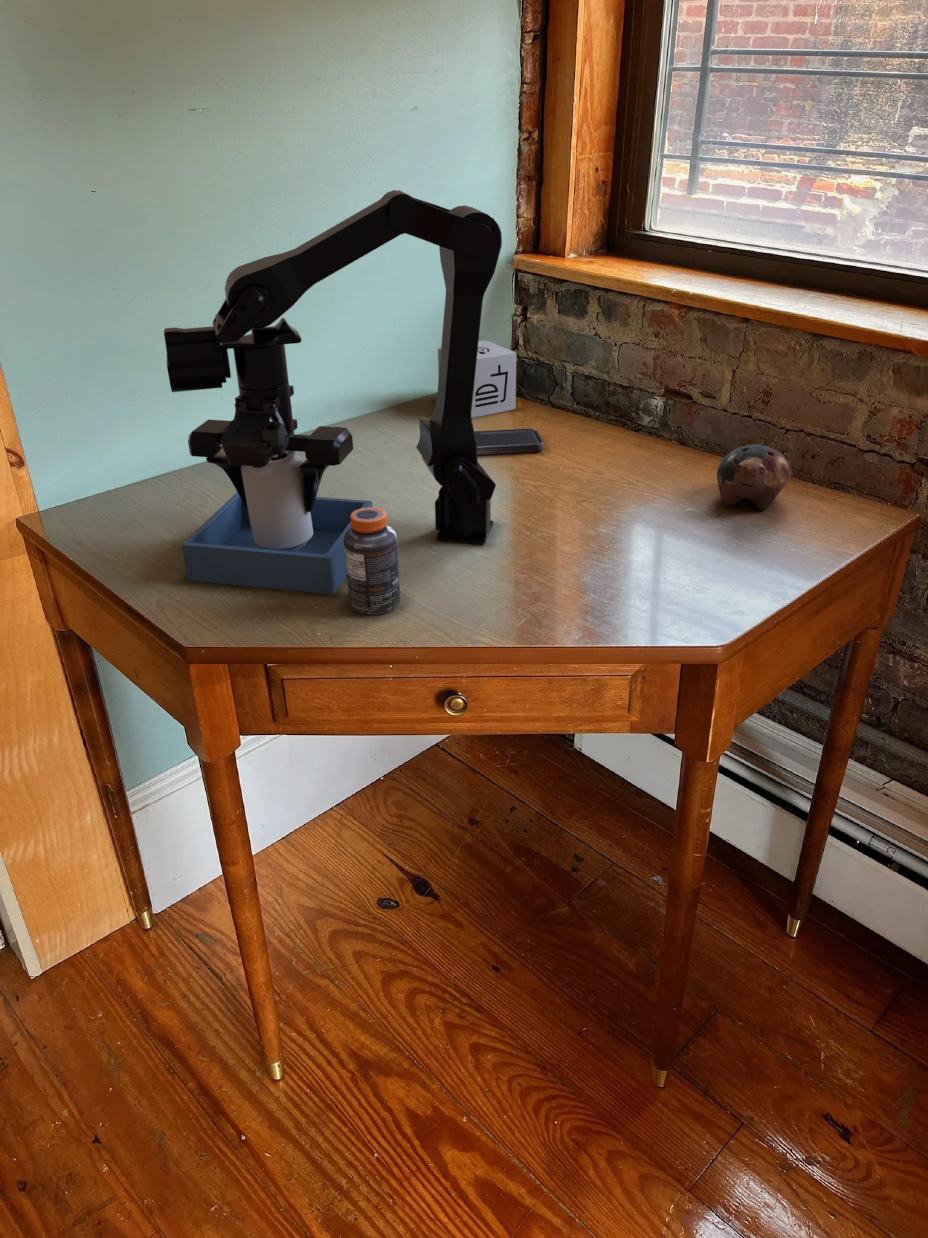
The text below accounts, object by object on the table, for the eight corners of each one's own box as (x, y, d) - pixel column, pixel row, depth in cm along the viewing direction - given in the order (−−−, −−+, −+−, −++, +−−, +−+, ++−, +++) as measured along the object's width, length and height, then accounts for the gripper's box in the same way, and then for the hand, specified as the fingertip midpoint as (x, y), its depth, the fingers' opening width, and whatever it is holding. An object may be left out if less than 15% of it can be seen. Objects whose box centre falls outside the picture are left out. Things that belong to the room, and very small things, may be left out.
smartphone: (544, 444, 151) (449, 449, 149) (544, 451, 151) (449, 456, 150) (535, 427, 158) (444, 432, 156) (535, 434, 158) (444, 438, 157)
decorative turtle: (711, 518, 129) (715, 461, 126) (718, 484, 142) (722, 430, 139) (786, 523, 126) (793, 464, 123) (787, 487, 139) (793, 433, 136)
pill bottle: (401, 590, 113) (396, 501, 107) (400, 615, 108) (395, 523, 102) (350, 591, 113) (343, 502, 107) (347, 616, 108) (339, 525, 102)
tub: (374, 534, 126) (372, 500, 124) (333, 594, 112) (329, 557, 110) (242, 523, 130) (238, 490, 127) (187, 580, 116) (180, 544, 113)
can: (302, 557, 116) (288, 463, 110) (244, 553, 118) (228, 461, 111) (322, 530, 122) (310, 441, 116) (267, 528, 124) (252, 439, 118)
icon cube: (515, 408, 170) (516, 352, 165) (467, 418, 166) (466, 361, 161) (486, 394, 178) (486, 340, 172) (439, 403, 173) (437, 348, 168)
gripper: (155, 400, 105) (178, 530, 113) (316, 409, 101) (329, 542, 109) (200, 371, 114) (219, 493, 122) (349, 379, 110) (359, 503, 118)
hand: (278, 508), depth 118 cm, fingers closed on can, 7 cm apart
